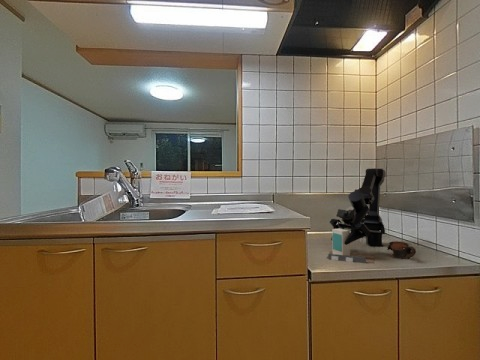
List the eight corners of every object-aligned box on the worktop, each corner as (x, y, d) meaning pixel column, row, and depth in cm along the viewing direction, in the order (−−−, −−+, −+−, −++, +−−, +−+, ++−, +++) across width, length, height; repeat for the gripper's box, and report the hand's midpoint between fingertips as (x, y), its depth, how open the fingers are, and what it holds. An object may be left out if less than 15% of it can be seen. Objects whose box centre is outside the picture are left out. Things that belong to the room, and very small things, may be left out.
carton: (339, 253, 125) (339, 228, 125) (349, 256, 120) (349, 230, 120) (332, 254, 123) (332, 229, 123) (342, 257, 118) (342, 231, 118)
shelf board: (330, 253, 129) (330, 251, 129) (373, 257, 121) (373, 255, 121) (326, 260, 117) (326, 258, 117) (374, 265, 110) (374, 263, 110)
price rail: (328, 261, 117) (328, 253, 117) (365, 264, 111) (365, 257, 111) (328, 261, 116) (328, 254, 116) (365, 265, 110) (365, 258, 110)
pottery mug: (381, 259, 120) (382, 240, 124) (395, 266, 124) (395, 248, 127) (410, 258, 110) (410, 238, 114) (424, 266, 114) (423, 246, 117)
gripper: (332, 201, 132) (313, 226, 127) (364, 204, 114) (343, 234, 110) (345, 217, 135) (327, 242, 130) (378, 222, 118) (359, 251, 113)
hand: (338, 242), depth 121 cm, fingers open, 8 cm apart
